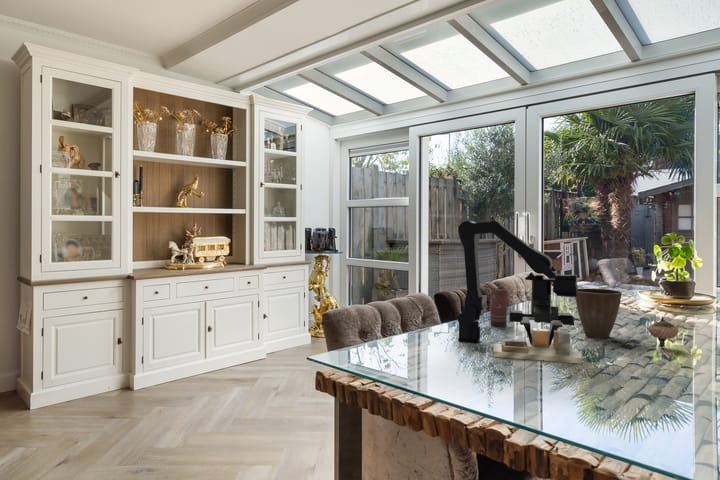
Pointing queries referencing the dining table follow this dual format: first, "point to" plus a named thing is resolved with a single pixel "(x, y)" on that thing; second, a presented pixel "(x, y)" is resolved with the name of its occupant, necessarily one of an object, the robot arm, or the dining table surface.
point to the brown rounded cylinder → (498, 307)
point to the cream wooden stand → (540, 350)
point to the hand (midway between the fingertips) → (540, 345)
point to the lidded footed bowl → (663, 331)
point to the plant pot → (598, 311)
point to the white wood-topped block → (540, 337)
